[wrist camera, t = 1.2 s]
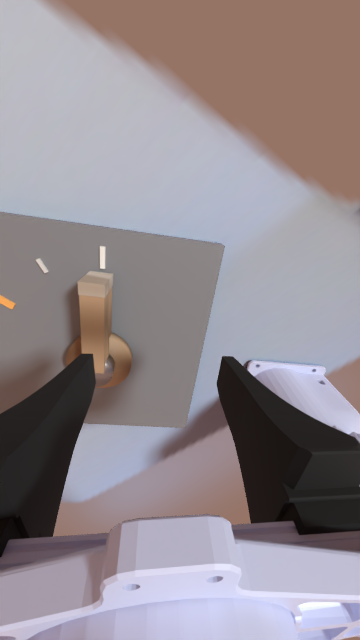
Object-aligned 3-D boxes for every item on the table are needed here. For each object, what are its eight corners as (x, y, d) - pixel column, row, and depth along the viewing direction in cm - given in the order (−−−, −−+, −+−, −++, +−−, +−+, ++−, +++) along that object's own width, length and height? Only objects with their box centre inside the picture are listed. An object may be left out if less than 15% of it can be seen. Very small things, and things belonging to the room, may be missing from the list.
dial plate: (220, 243, 21) (225, 246, 19) (184, 418, 30) (185, 429, 29) (-49, 204, 18) (-69, 204, 17) (2, 408, 28) (-8, 420, 26)
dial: (130, 381, 25) (126, 405, 22) (72, 377, 24) (59, 401, 21) (138, 276, 20) (133, 288, 17) (64, 267, 19) (47, 278, 16)
